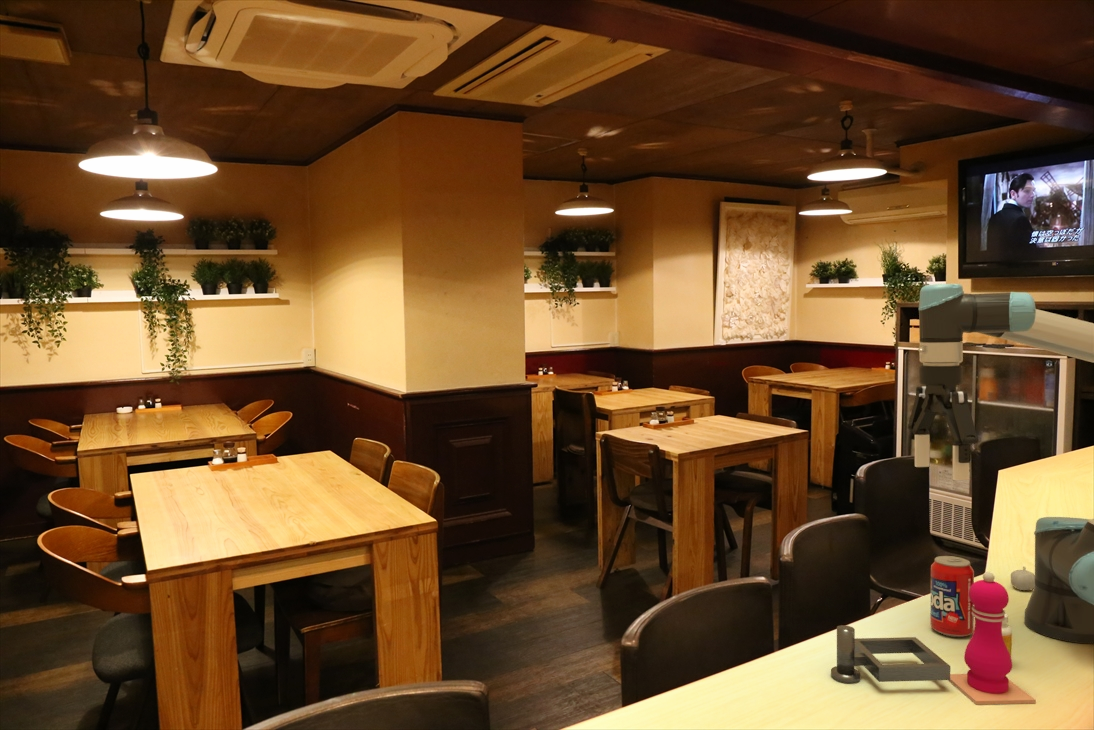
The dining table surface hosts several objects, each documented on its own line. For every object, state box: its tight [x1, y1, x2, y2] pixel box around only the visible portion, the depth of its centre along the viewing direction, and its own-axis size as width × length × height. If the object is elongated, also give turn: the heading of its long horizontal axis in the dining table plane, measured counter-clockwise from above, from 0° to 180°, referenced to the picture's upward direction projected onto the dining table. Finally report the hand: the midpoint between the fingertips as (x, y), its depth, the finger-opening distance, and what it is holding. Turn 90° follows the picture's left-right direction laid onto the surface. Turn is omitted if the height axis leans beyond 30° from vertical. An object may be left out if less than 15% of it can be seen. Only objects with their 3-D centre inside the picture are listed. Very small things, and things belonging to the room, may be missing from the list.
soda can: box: [929, 555, 975, 638], centre depth 159 cm, size 8×8×15 cm
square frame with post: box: [830, 624, 951, 685], centre depth 140 cm, size 18×12×9 cm
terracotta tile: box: [947, 673, 1037, 706], centre depth 134 cm, size 10×10×1 cm
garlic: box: [1010, 566, 1035, 591], centre depth 184 cm, size 6×5×5 cm
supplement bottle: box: [1002, 612, 1013, 657], centre depth 144 cm, size 5×5×10 cm
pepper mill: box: [963, 571, 1013, 694], centre depth 134 cm, size 7×7×20 cm
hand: (940, 473), depth 151 cm, fingers open, 13 cm apart
